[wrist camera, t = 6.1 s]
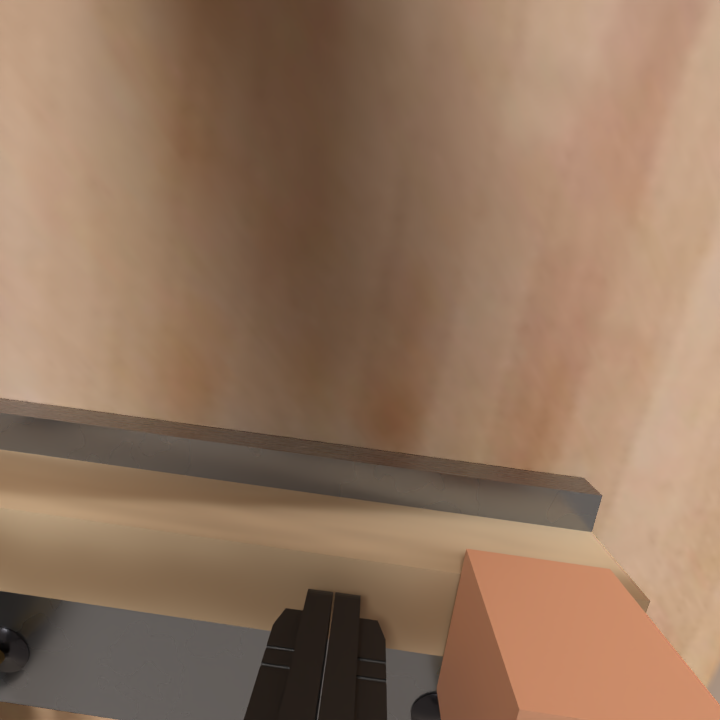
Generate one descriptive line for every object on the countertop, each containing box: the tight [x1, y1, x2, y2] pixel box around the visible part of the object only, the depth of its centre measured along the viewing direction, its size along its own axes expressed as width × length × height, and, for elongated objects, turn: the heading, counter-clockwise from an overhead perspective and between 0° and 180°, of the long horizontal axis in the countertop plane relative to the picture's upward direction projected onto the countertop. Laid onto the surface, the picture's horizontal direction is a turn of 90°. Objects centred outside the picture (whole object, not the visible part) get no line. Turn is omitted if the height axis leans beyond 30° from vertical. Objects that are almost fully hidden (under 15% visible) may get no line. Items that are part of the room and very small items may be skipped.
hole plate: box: [0, 398, 602, 720], centre depth 16 cm, size 14×27×1 cm, turn 83°
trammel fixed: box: [0, 449, 650, 664], centre depth 11 cm, size 11×27×7 cm, turn 83°
